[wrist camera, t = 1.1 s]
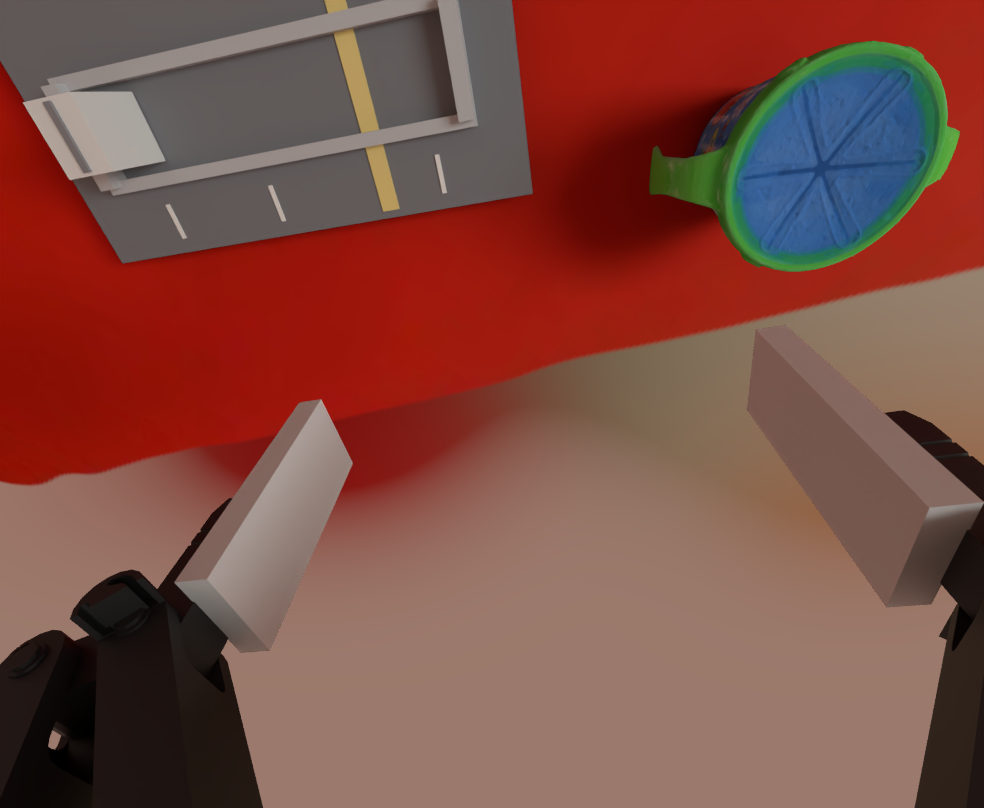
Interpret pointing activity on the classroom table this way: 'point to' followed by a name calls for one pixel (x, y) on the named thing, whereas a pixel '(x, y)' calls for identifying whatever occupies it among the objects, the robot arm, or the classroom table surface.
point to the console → (284, 110)
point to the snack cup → (818, 155)
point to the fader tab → (95, 132)
